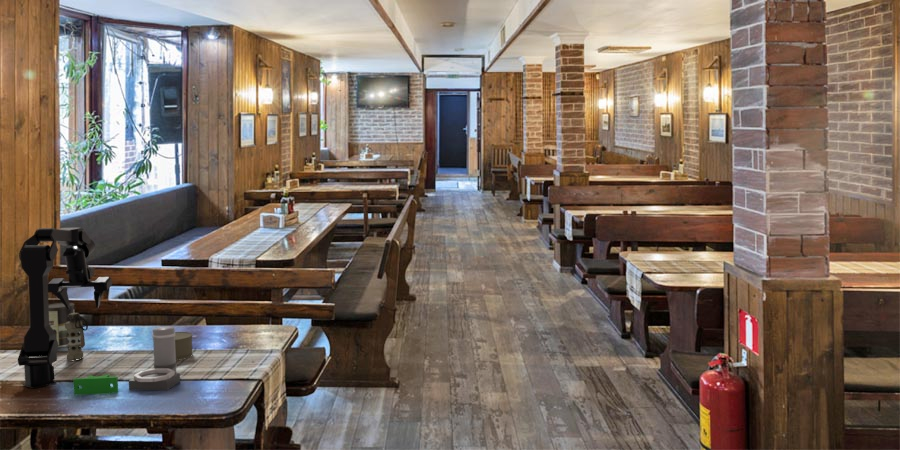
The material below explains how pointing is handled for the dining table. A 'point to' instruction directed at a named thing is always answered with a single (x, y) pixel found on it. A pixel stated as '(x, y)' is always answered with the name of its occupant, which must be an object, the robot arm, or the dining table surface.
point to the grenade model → (75, 336)
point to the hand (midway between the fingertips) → (83, 308)
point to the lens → (164, 348)
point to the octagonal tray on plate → (154, 379)
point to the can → (183, 345)
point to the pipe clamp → (95, 385)
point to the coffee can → (60, 321)
